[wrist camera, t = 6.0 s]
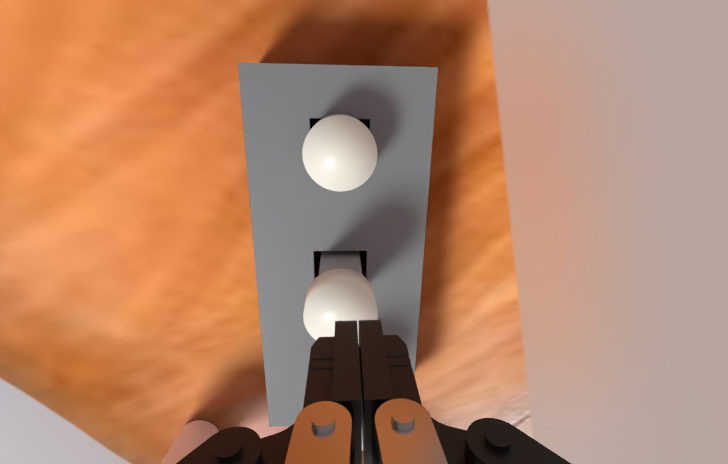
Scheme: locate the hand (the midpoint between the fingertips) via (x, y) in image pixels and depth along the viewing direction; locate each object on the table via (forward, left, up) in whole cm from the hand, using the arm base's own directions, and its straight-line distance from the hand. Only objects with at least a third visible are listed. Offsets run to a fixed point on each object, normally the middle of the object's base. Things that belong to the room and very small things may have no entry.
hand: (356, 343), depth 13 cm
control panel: (+5, -1, -20) cm, 20 cm away
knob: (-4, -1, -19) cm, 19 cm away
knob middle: (+5, -1, -16) cm, 16 cm away
